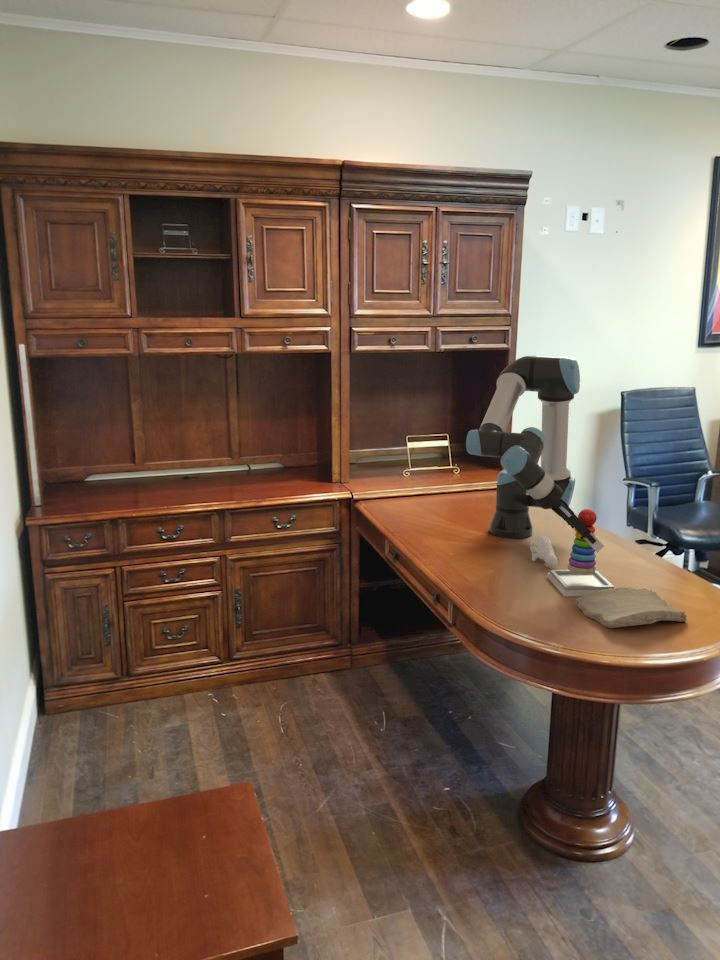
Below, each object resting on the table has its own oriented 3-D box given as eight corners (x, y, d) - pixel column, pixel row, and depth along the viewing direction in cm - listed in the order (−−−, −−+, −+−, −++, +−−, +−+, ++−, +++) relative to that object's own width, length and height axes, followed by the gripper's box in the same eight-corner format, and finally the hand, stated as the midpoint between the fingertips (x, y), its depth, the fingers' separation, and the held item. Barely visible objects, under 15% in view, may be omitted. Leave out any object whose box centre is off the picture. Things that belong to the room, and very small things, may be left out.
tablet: (695, 631, 190) (649, 595, 208) (700, 606, 187) (652, 571, 205) (611, 644, 184) (570, 606, 202) (614, 618, 182) (573, 581, 200)
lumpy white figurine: (547, 531, 239) (565, 546, 228) (544, 555, 242) (562, 571, 231) (529, 532, 238) (546, 547, 227) (526, 556, 241) (543, 573, 230)
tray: (547, 577, 223) (548, 569, 223) (595, 576, 224) (596, 568, 224) (564, 596, 209) (564, 588, 208) (615, 595, 210) (616, 587, 209)
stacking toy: (566, 574, 213) (571, 511, 209) (567, 565, 220) (572, 504, 216) (595, 577, 211) (601, 513, 206) (595, 568, 218) (600, 506, 214)
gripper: (525, 491, 218) (574, 543, 223) (545, 509, 200) (598, 565, 205) (543, 474, 218) (593, 526, 223) (565, 490, 199) (619, 547, 204)
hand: (595, 545), depth 214 cm, fingers closed on stacking toy, 6 cm apart
